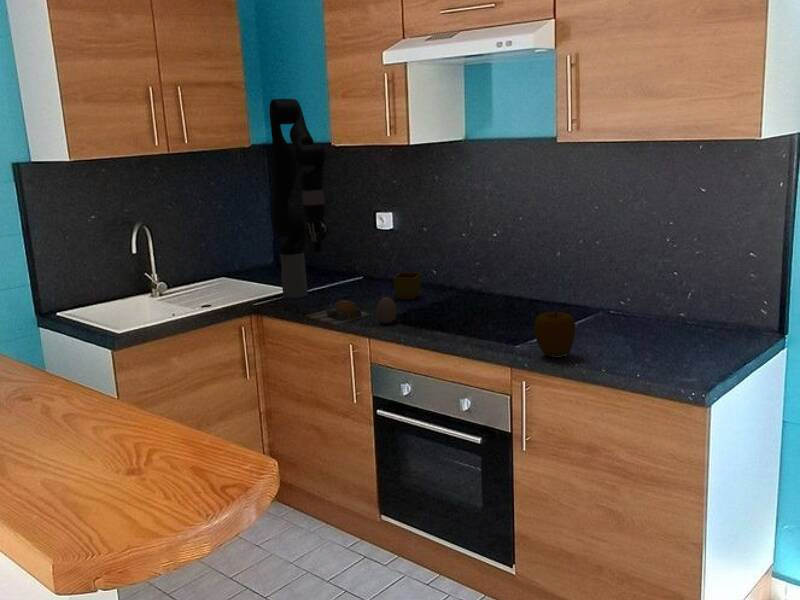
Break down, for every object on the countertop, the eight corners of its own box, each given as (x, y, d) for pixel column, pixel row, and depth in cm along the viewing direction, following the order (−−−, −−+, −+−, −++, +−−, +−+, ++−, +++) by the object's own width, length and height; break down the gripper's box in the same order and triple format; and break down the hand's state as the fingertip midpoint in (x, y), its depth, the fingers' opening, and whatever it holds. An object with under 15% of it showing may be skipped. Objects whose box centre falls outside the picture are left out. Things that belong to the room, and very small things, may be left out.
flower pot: (416, 301, 297) (414, 277, 295) (393, 301, 300) (392, 277, 298) (423, 296, 305) (421, 272, 303) (401, 295, 308) (399, 272, 306)
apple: (531, 360, 222) (530, 315, 219) (540, 349, 231) (540, 305, 229) (571, 363, 217) (570, 317, 215) (579, 352, 227) (579, 307, 224)
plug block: (336, 316, 279) (335, 301, 277) (345, 314, 281) (344, 299, 280) (346, 319, 274) (345, 303, 273) (356, 317, 276) (355, 301, 275)
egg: (373, 324, 268) (371, 298, 266) (385, 320, 273) (384, 293, 271) (389, 327, 264) (387, 300, 262) (401, 322, 269) (399, 295, 267)
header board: (305, 316, 283) (304, 304, 282) (342, 308, 293) (341, 295, 292) (335, 325, 269) (334, 312, 268) (373, 316, 279) (372, 303, 278)
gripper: (333, 202, 277) (337, 252, 281) (312, 200, 287) (315, 248, 291) (315, 205, 272) (319, 255, 276) (294, 203, 282) (298, 251, 286)
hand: (317, 251), depth 284 cm, fingers closed
